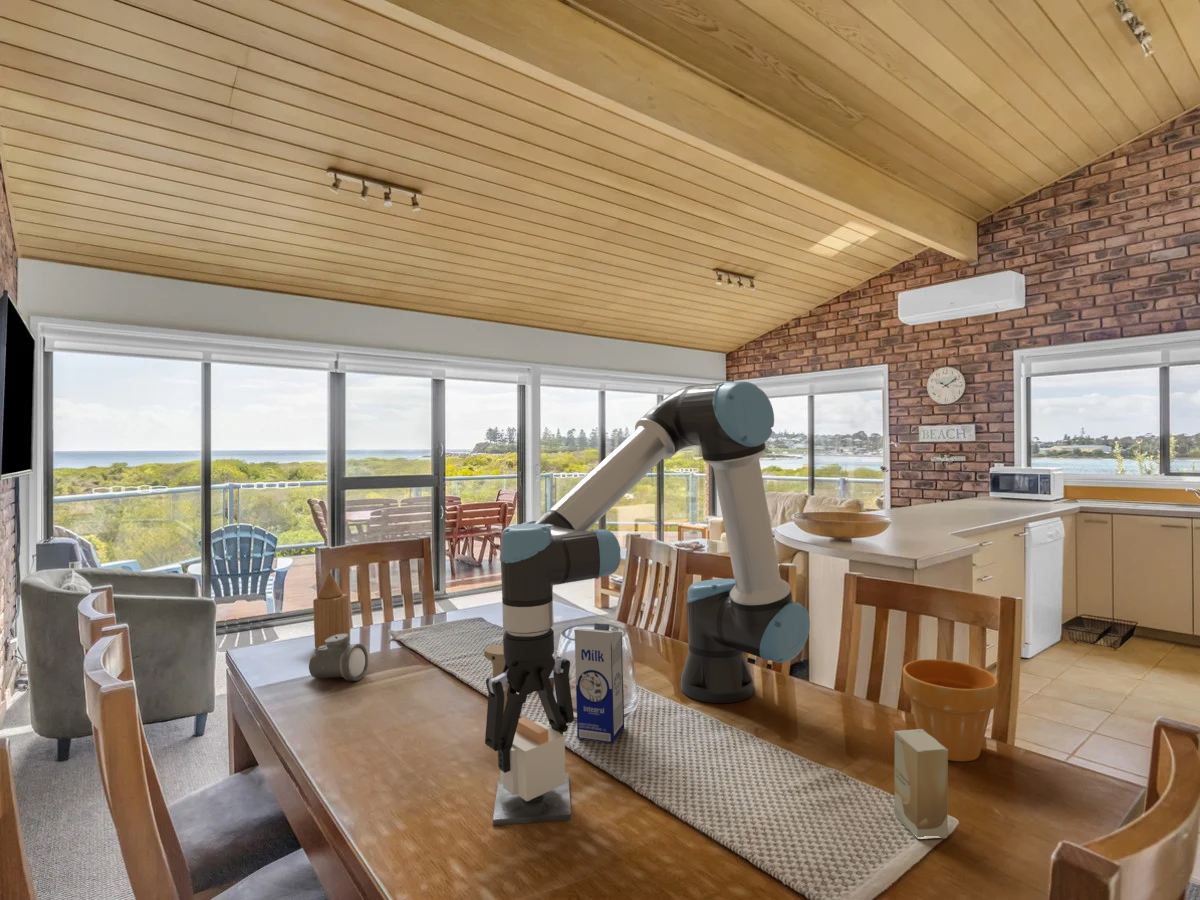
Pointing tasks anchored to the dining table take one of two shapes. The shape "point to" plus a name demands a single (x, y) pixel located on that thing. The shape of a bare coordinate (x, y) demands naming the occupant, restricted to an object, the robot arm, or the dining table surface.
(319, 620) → the decorative item
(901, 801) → the skincare box
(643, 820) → the dining table surface
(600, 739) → the milk carton
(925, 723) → the flower pot
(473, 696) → the dining table surface
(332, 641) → the pipe fitting
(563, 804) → the post base
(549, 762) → the white block with peg
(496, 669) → the handle
